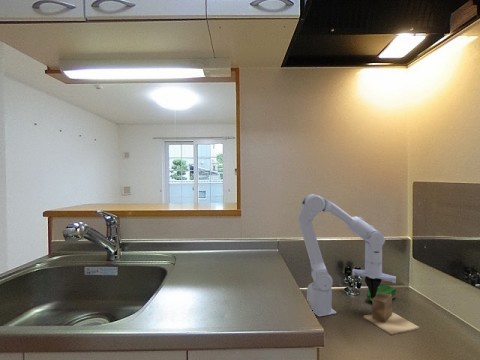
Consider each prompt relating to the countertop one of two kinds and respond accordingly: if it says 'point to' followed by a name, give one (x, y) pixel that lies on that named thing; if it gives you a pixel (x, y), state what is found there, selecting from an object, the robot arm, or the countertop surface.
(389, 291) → the snack package
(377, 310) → the slab
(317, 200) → the robot arm
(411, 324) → the plate
